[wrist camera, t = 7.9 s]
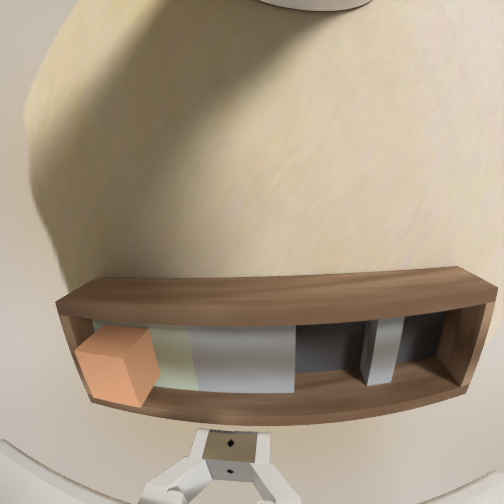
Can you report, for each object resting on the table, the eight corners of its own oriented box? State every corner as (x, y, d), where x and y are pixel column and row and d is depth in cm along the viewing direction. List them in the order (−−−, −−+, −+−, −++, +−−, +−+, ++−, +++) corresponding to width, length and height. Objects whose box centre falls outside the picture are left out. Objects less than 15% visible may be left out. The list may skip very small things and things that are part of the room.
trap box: (95, 278, 21) (55, 301, 16) (457, 266, 18) (498, 287, 13) (118, 367, 23) (91, 402, 18) (438, 359, 20) (465, 393, 15)
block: (103, 324, 18) (74, 350, 15) (148, 328, 18) (123, 358, 14) (116, 368, 19) (93, 397, 15) (160, 374, 19) (140, 407, 15)
